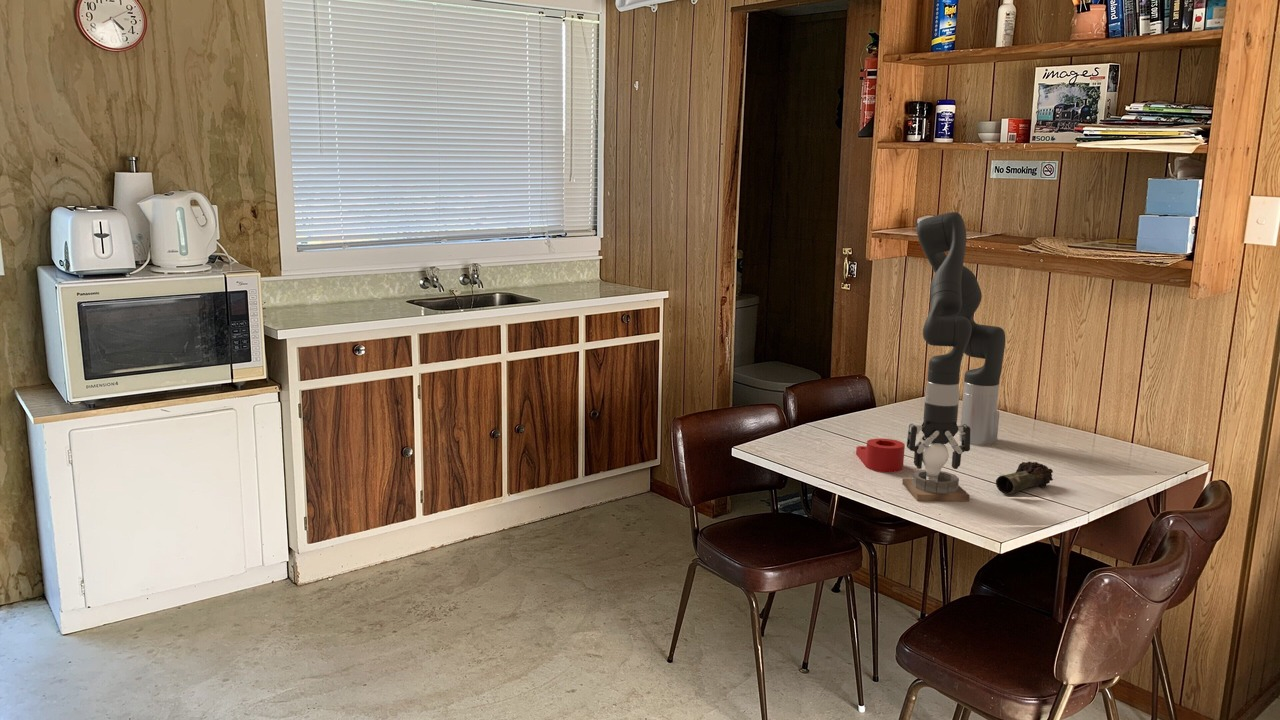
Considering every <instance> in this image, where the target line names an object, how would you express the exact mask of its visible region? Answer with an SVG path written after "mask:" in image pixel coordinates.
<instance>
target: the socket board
mask: <svg viewBox="0 0 1280 720" xmlns="http://www.w3.org/2000/svg"><path fill="white" fill-rule="evenodd" d="M926 474H927V473H926V470H925V469H923V470H917V471H915V472H914V473H913V476H912V478H902V483H901V484H902V485H903V486H904V488H906V490H907V492H909V493H910V494H911V496H912V497H913V499H915V500H916V501H917V502H919V501H920V502H970V494H969V493H968V492H967V491H966V490H964V489H963V487H961V485H959V482H960V478H959V477H958V476H957V475H955V474H953V473H950V472H947V471H942V470H941V471H940V473H939V475H938V481H937V482H936V481H930V480H926V478H927V477H926Z"/></svg>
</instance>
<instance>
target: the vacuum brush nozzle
mask: <svg viewBox="0 0 1280 720" xmlns="http://www.w3.org/2000/svg"><path fill="white" fill-rule="evenodd" d="M1053 473H1054V470H1053V469H1052V468H1049V467H1048V466H1047V465H1044V464H1043V463H1039V462H1038V461H1033V462H1032V461H1027V462H1025V461H1022V462H1021V463H1019V464H1018V468H1017V469H1016V471H1015V472H1011V473H1008V474H1007V473H1006V474H1003V475H1000V476H998V477H997V478H996V480H995V485H996V488H997V489H998V491H999V492H1000V493H1002V494H1004V495H1006V496H1008V495H1011V494H1013V493H1016V492H1020V491H1023V490H1025V489H1029V488H1031V487H1041V488H1046V487H1047V485H1048V484H1050V483H1051V481H1054V479H1053V477H1052V476H1053Z"/></svg>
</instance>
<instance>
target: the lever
mask: <svg viewBox="0 0 1280 720" xmlns="http://www.w3.org/2000/svg"><path fill="white" fill-rule="evenodd" d="M905 446H906V444H905V443H904V442H902V441H900V440H897V439H891V438H881V437H879V438H871V439H868V440H867V441H866V446H865V445H858V446H856V448H855V450H856V451H855V455H856V456H857V457H858V459H859V460H860V462H861V463H862V464H863V465H864V467H865V468H866V469H868V470H870V471H874V472H878V473H896V472H901V471H903V470H904V462H905Z"/></svg>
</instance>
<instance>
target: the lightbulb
mask: <svg viewBox="0 0 1280 720" xmlns="http://www.w3.org/2000/svg"><path fill="white" fill-rule="evenodd" d="M922 454H923V456H922V464H923V465H924V468H925V469H924V470H926V473H927V474H926V477H927V478H926V480H930V481H936V482H937V481H938V475H939V473H940V471H942V468H943V467H944V466H945V465H946V464H947V462H948V461H949V456H950V455H949V454H950V453H949V450H948V447H947V446H946V444H941V443H934V444H933V443H930V445H929V446H928V447H926V448H925V449H924V450H923V451H922Z"/></svg>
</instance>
